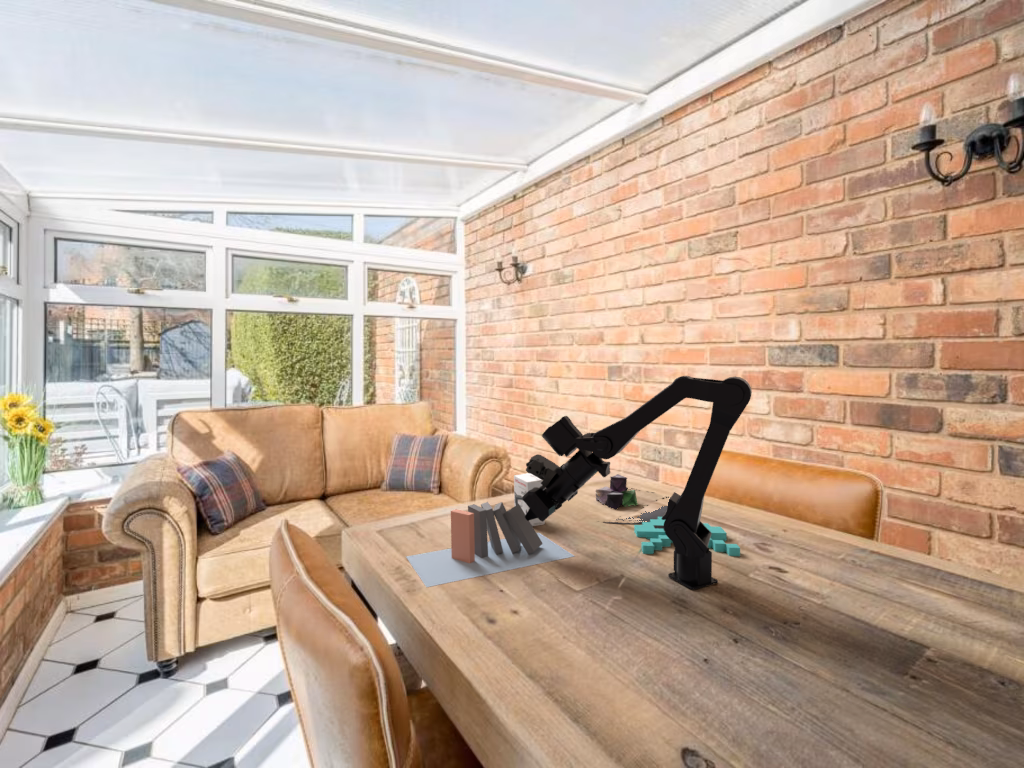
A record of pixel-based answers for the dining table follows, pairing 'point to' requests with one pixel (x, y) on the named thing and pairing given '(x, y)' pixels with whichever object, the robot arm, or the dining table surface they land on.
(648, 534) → the alien figure
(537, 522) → the ink box
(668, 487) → the dining table surface
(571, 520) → the dining table surface
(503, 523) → the domino
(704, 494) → the robot arm
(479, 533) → the domino
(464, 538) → the domino
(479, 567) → the mat
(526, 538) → the domino
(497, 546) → the domino
